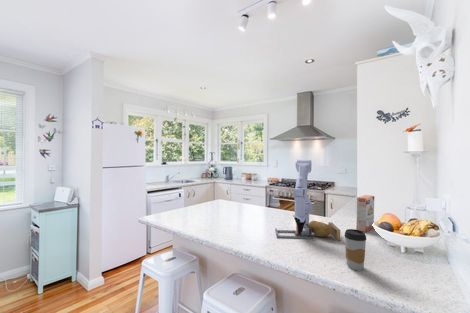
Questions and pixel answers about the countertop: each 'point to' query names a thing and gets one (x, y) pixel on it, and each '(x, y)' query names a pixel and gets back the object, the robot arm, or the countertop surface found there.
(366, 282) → the countertop surface
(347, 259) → the coffee cup
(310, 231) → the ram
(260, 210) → the countertop surface
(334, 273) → the countertop surface
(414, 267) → the countertop surface
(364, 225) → the cracker box
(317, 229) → the potato
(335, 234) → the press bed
